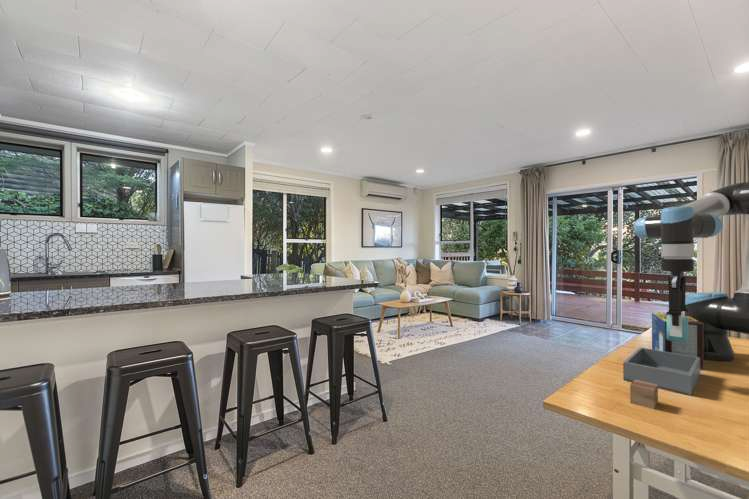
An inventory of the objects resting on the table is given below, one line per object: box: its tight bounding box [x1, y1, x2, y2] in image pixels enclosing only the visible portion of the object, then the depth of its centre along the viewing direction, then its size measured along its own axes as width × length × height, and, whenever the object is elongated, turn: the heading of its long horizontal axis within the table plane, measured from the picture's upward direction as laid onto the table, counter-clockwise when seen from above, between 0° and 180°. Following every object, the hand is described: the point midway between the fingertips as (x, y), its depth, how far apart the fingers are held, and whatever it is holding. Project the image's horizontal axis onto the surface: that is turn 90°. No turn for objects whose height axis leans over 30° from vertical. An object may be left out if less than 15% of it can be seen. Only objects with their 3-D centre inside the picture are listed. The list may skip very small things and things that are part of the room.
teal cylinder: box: [667, 316, 688, 343], centre depth 107 cm, size 5×5×7 cm
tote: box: [622, 347, 701, 397], centre depth 110 cm, size 22×16×6 cm
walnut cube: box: [629, 380, 659, 410], centre depth 93 cm, size 5×5×5 cm
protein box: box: [651, 312, 704, 370], centre depth 125 cm, size 10×15×16 cm
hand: (677, 334), depth 107 cm, fingers closed on teal cylinder, 5 cm apart
